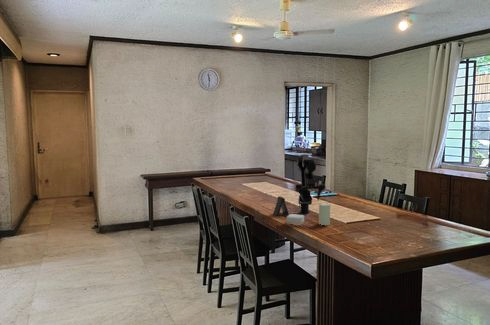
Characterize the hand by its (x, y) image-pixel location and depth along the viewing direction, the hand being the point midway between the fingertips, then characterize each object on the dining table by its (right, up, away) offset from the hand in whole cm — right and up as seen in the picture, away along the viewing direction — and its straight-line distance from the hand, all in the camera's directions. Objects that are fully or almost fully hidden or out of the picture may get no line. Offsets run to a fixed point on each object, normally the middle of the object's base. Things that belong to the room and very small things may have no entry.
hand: (310, 200), depth 246 cm
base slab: (-10, -14, -2) cm, 18 cm away
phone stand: (-17, -12, +21) cm, 29 cm away
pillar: (+7, -14, -5) cm, 17 cm away
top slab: (-10, -12, -2) cm, 16 cm away
